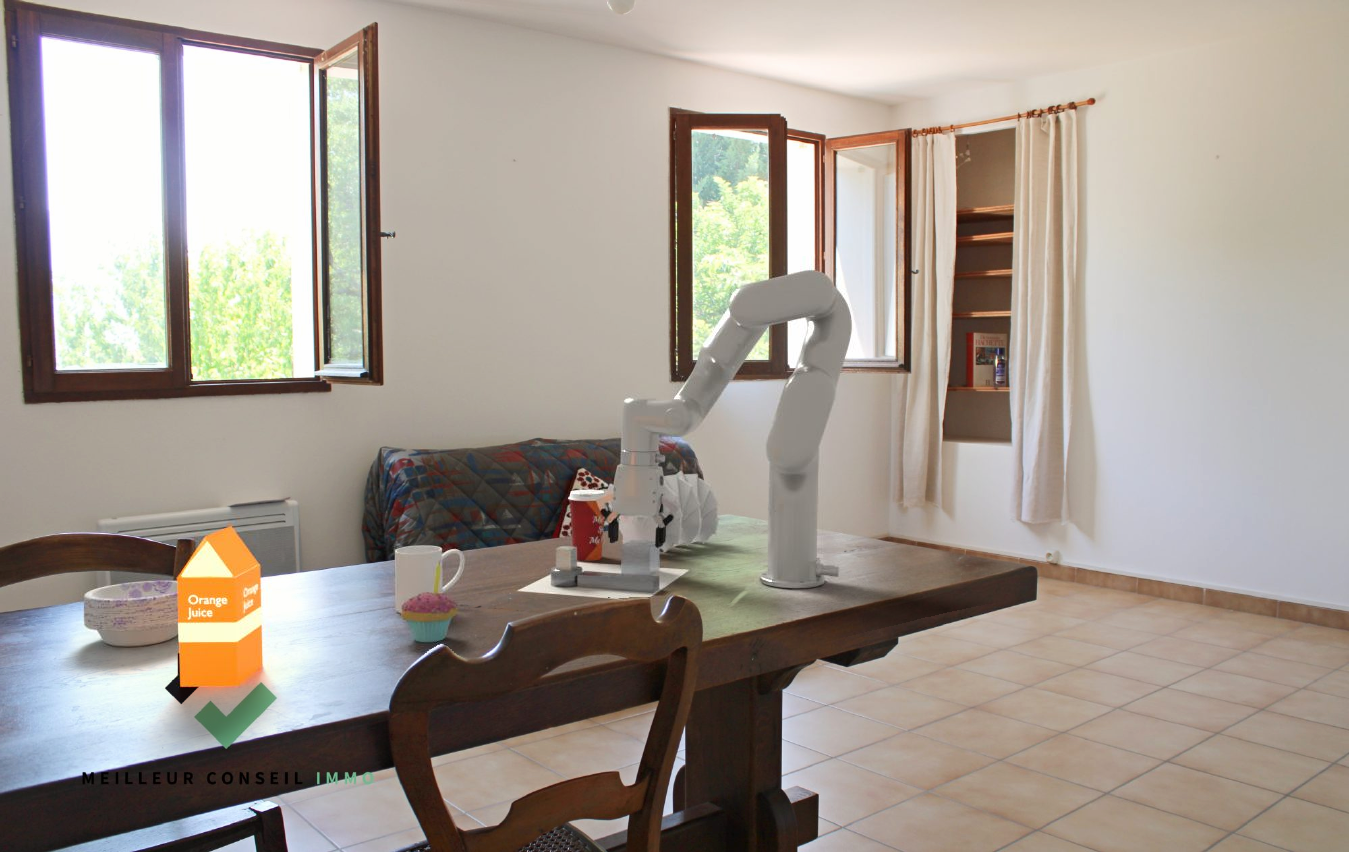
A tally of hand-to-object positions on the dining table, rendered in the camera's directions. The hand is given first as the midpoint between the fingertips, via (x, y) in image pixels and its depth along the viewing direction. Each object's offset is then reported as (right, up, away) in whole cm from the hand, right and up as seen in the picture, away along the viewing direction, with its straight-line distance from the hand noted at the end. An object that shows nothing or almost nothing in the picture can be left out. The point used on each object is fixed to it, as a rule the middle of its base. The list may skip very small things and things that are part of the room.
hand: (636, 544), depth 200 cm
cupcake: (-30, -10, -45) cm, 55 cm away
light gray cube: (+1, -6, 0) cm, 6 cm away
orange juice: (-54, -11, -64) cm, 85 cm away
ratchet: (-6, -7, -12) cm, 15 cm away
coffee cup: (-11, -6, +16) cm, 20 cm away
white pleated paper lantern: (+6, -5, +29) cm, 30 cm away
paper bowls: (-75, -9, -46) cm, 88 cm away
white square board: (-5, -7, -6) cm, 11 cm away
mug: (-35, -8, -26) cm, 44 cm away
